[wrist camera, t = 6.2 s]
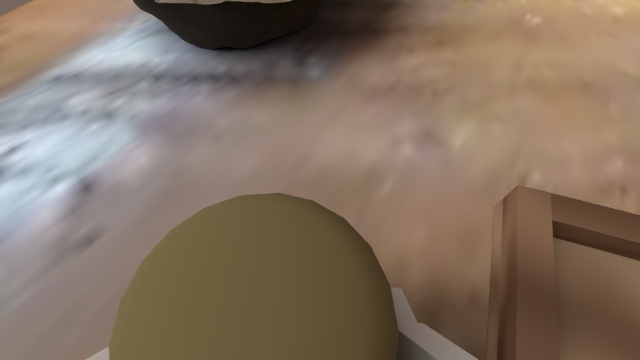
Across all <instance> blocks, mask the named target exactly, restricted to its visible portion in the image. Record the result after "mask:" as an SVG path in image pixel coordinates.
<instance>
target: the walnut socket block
mask: <svg viewBox="0 0 640 360" xmlns="http://www.w3.org/2000/svg"><path fill="white" fill-rule="evenodd" d="M486 360H640V215H637V214H633V213H629V212H625V211H621V210H617V209H613V208H609V207H605V206H601V205H597V204H593V203H589V202H585V201H581V200H577V199H573V198H568V197H564V196H560V195H556V194H552V193H548V192H544V191H540V190H536V189H532V188H528V187H524V186H520V185H517V186H516V187H515V188H514V189H513V190H512V191H511V192H510V193H509V194H508V195H507V196H506V197H504V198H503V199H502V200H501V201H500V202H499V203H498V204H497V205H496V206H495V207H494V226H493V244H492V263H491V281H490V299H489V318H488V336H487V355H486Z"/></svg>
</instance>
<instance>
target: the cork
mask: <svg viewBox="0 0 640 360" xmlns="http://www.w3.org/2000/svg"><path fill="white" fill-rule="evenodd" d="M398 339H399V331H398V326H397V320H396V314H395V308H394V303H393V297H392V291H391V287H390V284H389V282H388V280H387V278H386V276H385V274H384V272H383V270H382V268H381V266H380V264H379V262H378V260H377V258H376V256H375V254H374V252H373V250H372V248H371V246H370V245H369V244H368V243H367V242H366V241H365V240H364V239H363V238H362V237H361V235H360V234H359V233H358V232H357V231H356V230H355V229H354V228H353V227H352V226H351V225H350V224H349V223H348V222H347V221H346V220H345V219H344V218H343V217H341V216H339V215H338V214H336V213H334V212H332V211H330V210H329V209H327V208H325V207H323V206H322V205H320V204H318V203H316V202H314V201H313V200H308V199H303V198H299V197H294V196H290V195H285V194H281V193H272V194H256V195H242V196H238V197H235V198H232V199H229V200H226V201H223V202H220V203H217V204H215V205H212V206H209V207H206V208H204V209H202V210H201V211H199V212H197V213H196V214H194V215H193V216H191V217H190V218H188V219H187V220H185V221H184V222H182V223H181V224H179V225H178V226H176V227H175V228H173V229H172V230H171V231H170V232H169V233H168V234H167V235H166V236H165V237H164V238H163V239H162V240H161V242H160V243H159V244H158V245H157V246H156V247H155V248H154V249H153V250H152V251H151V252H150V253H149V254H148V255H147V257H146V258H145V259H144V260H143V261H142V263H141V265H140V267H139V269H138V270H137V272H136V274H135V276H134V277H133V279H132V281H131V283H130V285H129V286H128V288H127V290H126V292H125V294H124V295H123V297H122V299H121V302H120V306H119V310H118V314H117V317H116V321H115V325H114V329H113V332H112V336H111V340H110V344H109V360H396V357H397V348H398Z"/></svg>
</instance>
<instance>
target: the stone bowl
mask: <svg viewBox="0 0 640 360" xmlns="http://www.w3.org/2000/svg"><path fill="white" fill-rule="evenodd" d="M133 1H134V3H135V4H136V5H137V6H138V7H139V8H140V9H141V10H143V11H145V12H147V13H150V14H152V15H153V16H155V17H156V18H158V19H159V20H161V21H163V22H164V24H165V25H166V26H167V27H168V28H169V29H170V30H172V31H173V32H174V33H175V34H177V35H178V36H179V37H180V38H181V39H183V40H184V41H186V42H188V43H191V44H194V45H197V46H199V47H202V48H207V49H218V48H222V47H224V46H228V47H234V48H238V49H245V48H248V47H253V46H255V45H261V44H260V43H263V42H264V41H266V40H268V39H272V38H276V37H280V36H284V35H287V34H289V33H291V32H296V31H301V30H304V29H305V28H307V27H308V26H309V25H310V24H311V22H312V20H313V19H314V17H315V16H316V14H317V13H318V12H319V10H320V9H321V7H322V6H323V5H324V4H325V3H326V0H133Z"/></svg>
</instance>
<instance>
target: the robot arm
mask: <svg viewBox="0 0 640 360" xmlns="http://www.w3.org/2000/svg"><path fill="white" fill-rule="evenodd" d="M391 291H392V297H393V303H394V308H395V314H396V320H397V326H398V331H399V339H398V348H397V357H396V360H478V359H477V358H475V357H474V356H472V355H471V354H469V353H468V352H466V351H465V350H463V349H462V348H460V347H459V346H457V345H456V344H454V343H452V342H451V341H449V340H448V339H446V338H445V337H443V336H442V335H440V334H439V333H437V332H436V331H434V330H433V329H431V328H430V327H428V326H427V325H425V324H424V323H418V322H417V320H416V318H415V316H414V314H413V312H412V310H411V307H410V305H409V303H408V301H407V299H406V297H405V294H404V292H403V290H402V288H400V287H392V288H391ZM86 360H109V347H107V348H105V349H104V350H102V351H100V352H98V353H97V354H95V355H93V356H91V357H90V358H88V359H86Z"/></svg>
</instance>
